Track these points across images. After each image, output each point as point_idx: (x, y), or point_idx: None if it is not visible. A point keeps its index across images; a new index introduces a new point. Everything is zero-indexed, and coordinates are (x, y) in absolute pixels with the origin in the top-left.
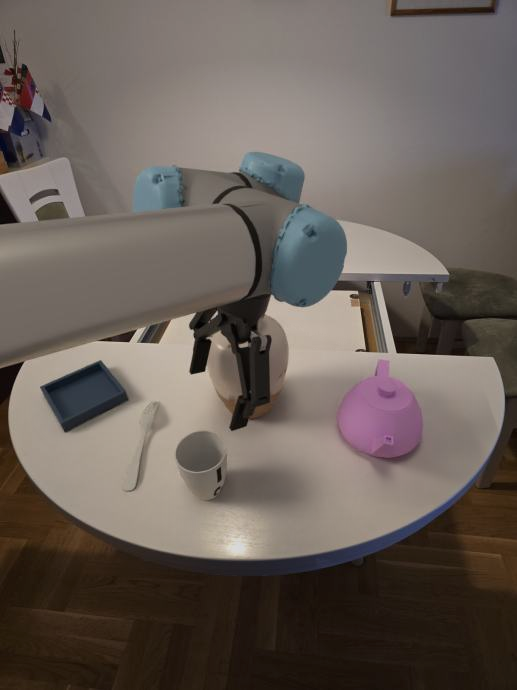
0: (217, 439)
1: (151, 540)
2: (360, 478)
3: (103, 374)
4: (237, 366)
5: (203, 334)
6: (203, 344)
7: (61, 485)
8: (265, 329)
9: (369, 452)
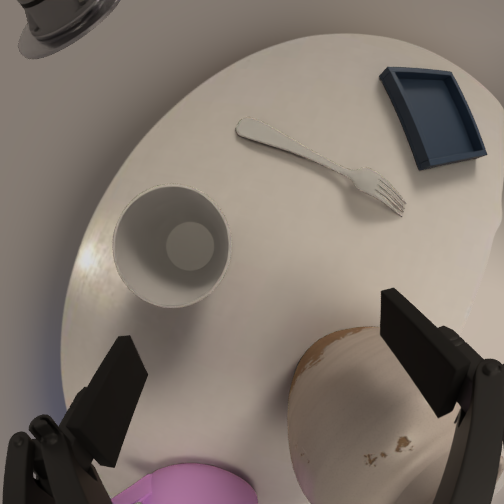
0: (200, 293)
1: (143, 146)
2: (134, 443)
3: (466, 152)
4: (337, 432)
5: (468, 435)
6: (443, 387)
7: (287, 54)
8: None
9: (153, 473)
